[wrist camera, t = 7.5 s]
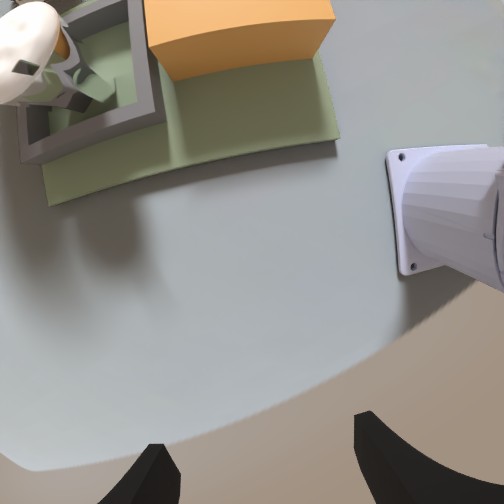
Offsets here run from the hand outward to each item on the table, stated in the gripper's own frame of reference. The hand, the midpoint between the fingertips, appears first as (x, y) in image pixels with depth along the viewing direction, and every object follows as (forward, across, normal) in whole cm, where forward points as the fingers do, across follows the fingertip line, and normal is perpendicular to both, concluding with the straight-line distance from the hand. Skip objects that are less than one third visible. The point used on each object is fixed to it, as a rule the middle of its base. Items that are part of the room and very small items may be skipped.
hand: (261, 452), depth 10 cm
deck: (+10, +2, -18) cm, 21 cm away
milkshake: (+9, +6, -17) cm, 20 cm away
